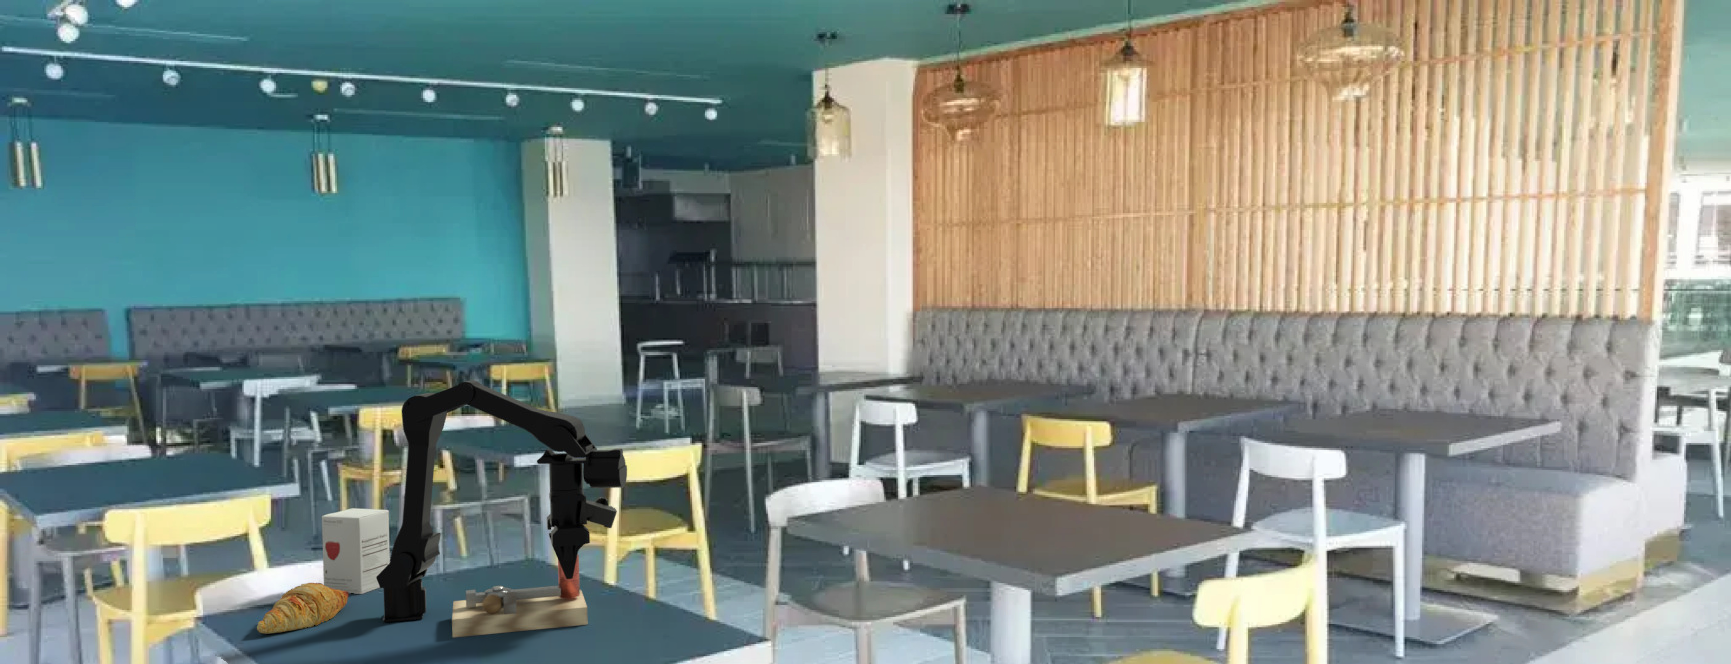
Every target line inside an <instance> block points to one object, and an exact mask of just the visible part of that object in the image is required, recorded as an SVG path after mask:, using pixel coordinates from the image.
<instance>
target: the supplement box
mask: <svg viewBox="0 0 1731 664" xmlns="http://www.w3.org/2000/svg"><path fill="white" fill-rule="evenodd" d="M389 517H390V511H389V510H388V509H374V508H357V507H353V508H348V509H344V510H341V511H340V510H339V511H337V512H331V513H327V514H325V515H322V516H321V533H322V564H323V566H322V568H323V585H324V586H326V587H329V588H332V589H337V590H341V591H348V592H349V594H351V593H354V594H353V595H362V594H363V595H364V594H365V593H368V592H371V591H375V590H376V589H381V588H380V586H379V584H378V581H377V579H376V577H377V576H378V575H379V574H380V573H381V571H382V570H383V569H384V568H385V567H386V566H387V565H388V564H389V563H390V557H391V554H390V525H389V524H390V521H389Z"/></svg>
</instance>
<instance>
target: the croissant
mask: <svg viewBox="0 0 1731 664" xmlns="http://www.w3.org/2000/svg"><path fill="white" fill-rule="evenodd" d="M349 595H350V593H349V592H348V591H341V590H337V589H332V588H329V587H326V586H324V583H321V582H307V583H301V584H300V585H298V586H295V587H294V588H291V589H289V590H287V591H286V592H285V593H284V594H283V595H281V597H280V599H279V600H276V602H275V603H274V604H273V606H272V608H271V609H270V610H269V611H267V612H266V613H265V614H264V617H263V618H262V620H260V621H258V622H257V626H256V630H257V631H258V633H260V634H276V633H279V634H280V633H283V632H290V631H296V630H302V629H308V628H312V627H314V625H315V626H318V625H320V624H322V623H321V622H323V623H325V622H324V621H326V622H328V621H329V619H330V620H331V619H333V618H334V617H335V616H336V615H337V614H339V612H340V611H341V610H343V608H345V606H346V605H347V602H348V599H349ZM307 627H308V628H307Z"/></svg>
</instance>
